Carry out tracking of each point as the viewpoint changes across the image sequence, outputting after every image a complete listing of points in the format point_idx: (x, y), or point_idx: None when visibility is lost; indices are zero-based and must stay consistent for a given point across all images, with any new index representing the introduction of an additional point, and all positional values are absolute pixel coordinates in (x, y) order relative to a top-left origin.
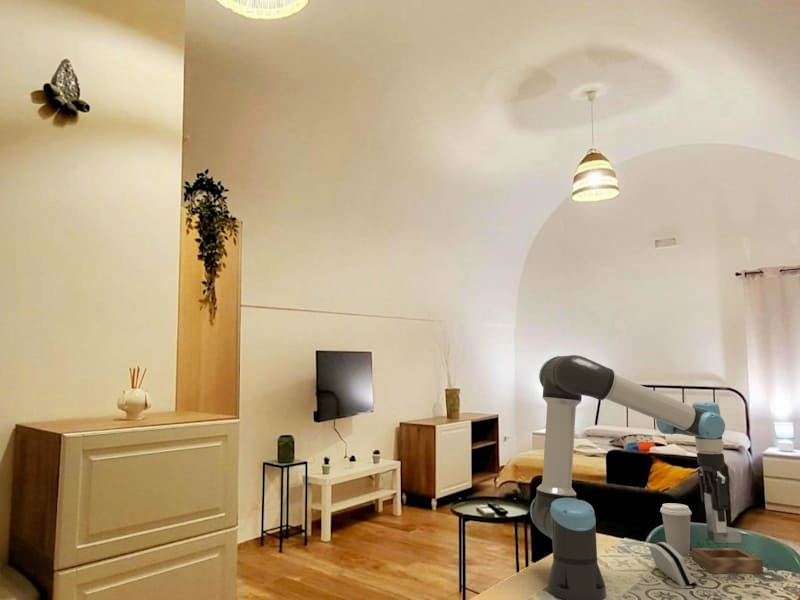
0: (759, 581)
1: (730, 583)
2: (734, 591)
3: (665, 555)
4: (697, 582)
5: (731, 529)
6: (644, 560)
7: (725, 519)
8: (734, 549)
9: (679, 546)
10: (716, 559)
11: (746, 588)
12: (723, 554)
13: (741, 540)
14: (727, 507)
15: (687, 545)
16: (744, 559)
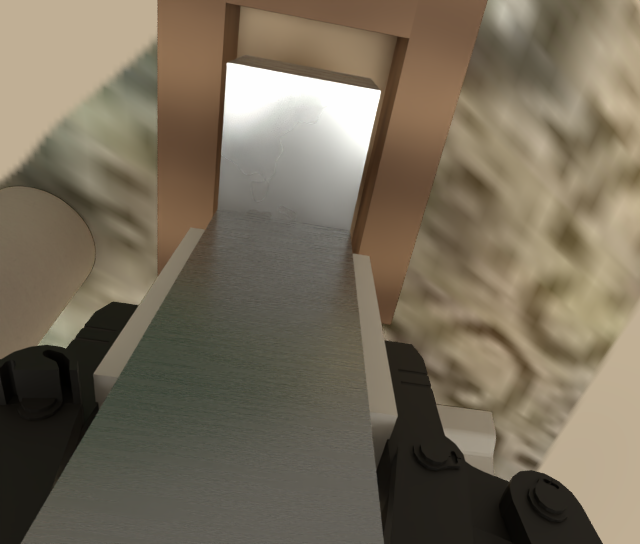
0: (554, 135)
1: (516, 291)
2: (595, 335)
3: None
4: (493, 426)
5: (261, 114)
6: None
7: (355, 302)
8: (201, 8)
9: (73, 293)
10: (388, 290)
11: (595, 268)
12: (223, 115)
13: (371, 79)
14: (575, 526)
15: (61, 248)
16: (438, 123)
